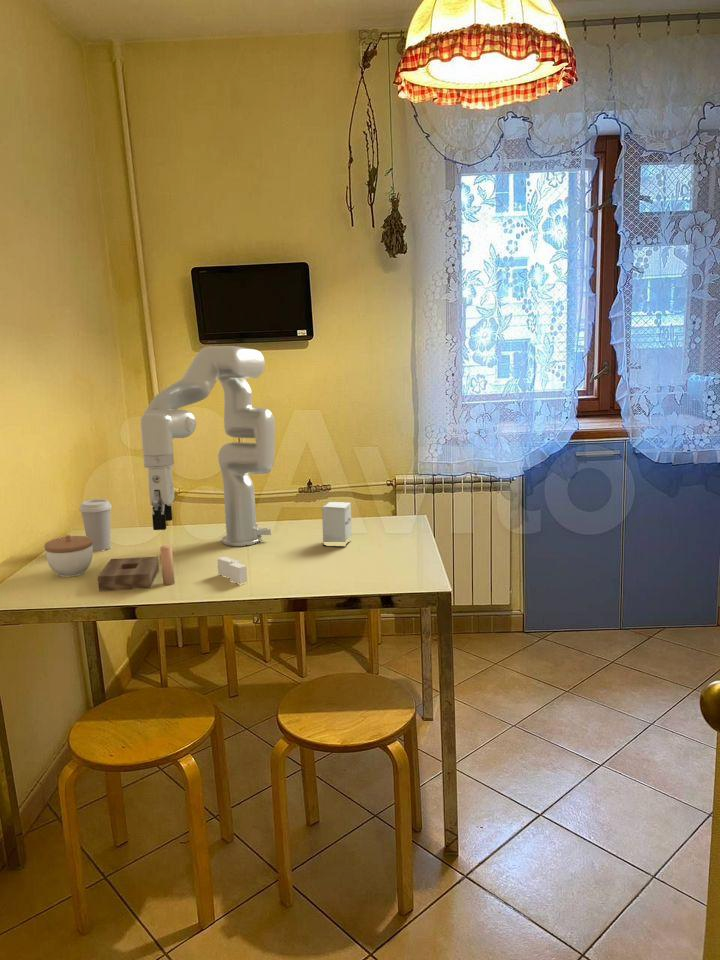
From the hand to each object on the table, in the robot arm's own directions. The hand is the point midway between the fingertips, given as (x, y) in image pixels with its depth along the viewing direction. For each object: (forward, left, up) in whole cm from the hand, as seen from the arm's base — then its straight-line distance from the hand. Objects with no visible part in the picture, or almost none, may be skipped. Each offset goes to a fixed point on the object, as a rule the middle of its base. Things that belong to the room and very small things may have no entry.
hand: (163, 525), depth 198 cm
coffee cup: (+27, -36, -17) cm, 48 cm away
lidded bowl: (+29, -13, -17) cm, 36 cm away
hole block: (+11, -4, -16) cm, 20 cm away
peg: (0, 0, -16) cm, 16 cm away
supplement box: (-47, -29, -17) cm, 58 cm away
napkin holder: (-17, 0, -17) cm, 24 cm away
